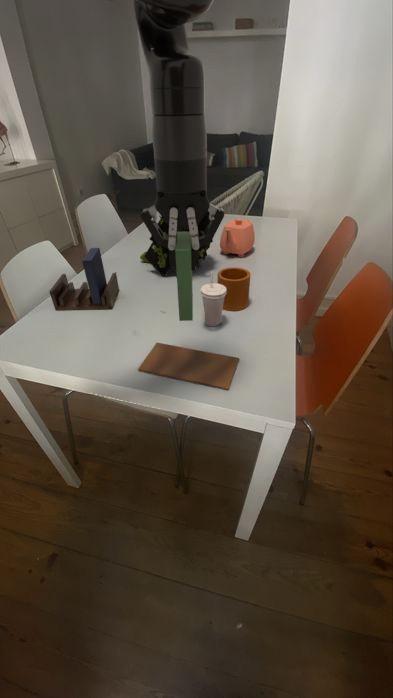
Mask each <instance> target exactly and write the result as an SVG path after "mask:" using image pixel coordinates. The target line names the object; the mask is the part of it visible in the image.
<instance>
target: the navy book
mask: <svg viewBox="0 0 393 698" xmlns="http://www.w3.org/2000/svg"><path fill="white" fill-rule="evenodd" d="M81 262H82V263H81V264H82V266H83V270H84V275H85V279H86V282H87V285H88V289H89V291H90V295H91V298H92V302H93V305H102V301H101V296H102V294H103V292H104V290H105V288H106V286H107V284H108V282H107V277H106V273H105V268H104V264H103V263H104V262H103V258H102V252H101V249H100V247H90V248H89V250H88V251H87V252H86V254H85V256H84V257H83V258H82V260H81Z"/></svg>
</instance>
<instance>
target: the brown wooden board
mask: <svg viewBox="0 0 393 698" xmlns="http://www.w3.org/2000/svg"><path fill="white" fill-rule="evenodd" d="M239 361H240V357H237V356H232V355H226V354H222V353H221V354H220V353H215V352H210V351H204V350H200V349H194V348H189V347H183V346H179V345H173V344H168V343H161V342H155V344H154V345H153V347H152V348H151V349H150V351H149V352H148V354H147V355H146V357H145V358H144V359H143V361H142V362H141V364H140V365H139V367H138V368H137V371H138V372H140V373H141V372H142V373H145V374H150V375H154V376H160V377H164V378H170V379H173V380H179V381H183V382H188V383H191V384H192V383H193V384H197V385H201V386H206V387H210V388H215V389H221V390H224V391H229V390H230V387H231V386H232V385H231V384H232V381H233V378H234V376H235V373H236V369H237V367H238V364H239Z"/></svg>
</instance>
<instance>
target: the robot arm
mask: <svg viewBox="0 0 393 698" xmlns="http://www.w3.org/2000/svg"><path fill="white" fill-rule="evenodd" d="M109 1H114V0H107V2H109ZM213 3H214V0H132V6H133V7H132V8H133V12H134V13H133V14H134V17H135V23H136V27H137V31H138V35H139V39H140V44H141V46H142V52H143V56H144V59H145V62H146V65H147V66H146V67H147V69H148V73H149V89H150V101H151V114H152V133H151V135H152V148H153V162H154V172H155V185H156V198H155V201H154V204H153V205H151V206H150V207H148V208H147V207H144V208H143V209H142V211H141V213H140V218H141V220H142V222H143V224H144V225H145V227H146V228H147V230H148V232H149V233H150V236H151V235H152V237H153V238H154V240H155V242H156V243H157V245H158V246H159V247H162V246H163V247H166V248H167V249H168V250H169V261H170V266H171V268H170V269H172V268H173V271H174V272H177V271H176V254H175V249H176V237H177V229H180V228H187V229H189V230H190V236H191V242H192V246H191V267H192V272H194V271H196V268H199V266H200V260H199V249H200V248H201V247H203V246H209V245H210V246H211V244H212V242H211V241H212V239H213V240H214V237H215V235H216V233H217V231H218V229H219V228H220V225H221V223H222V221H223V220H224V217H225V210H224V209H223V207H221V206H216V205H214V204H213V203H212V204H211V202H210V198H209V196H208V193H207V190H208V189H207V188H208V187H207V186H208V185H207V183H208V179H207V178H208V176H207V175H208V174H207V172H208V171H207V168H208V167H207V165H208V164H207V163H208V162H207V158H208V144H207V143H208V141H207V140H208V137H207V135H208V134H207V125H206V124H207V123H206V75H205V67H204V63H203V61H202V60H201V58H200V57H198V56H197V55H195V54H193V53H191V52H190V48H189V42H188V35H187V27H186V24H189V23H192V22H195V21H197V20H199V19H201V18H202V17H203V16H204V15H205V14H206V13H207V12H208V11H209V9H210V8H211V7H212V5H213ZM207 210H208V211H209V219H210V220H211V221H210V223H209V225H208V227H207V229H206V231H205V233H204V235H203V236H201V237H199V235H198V227H197V225H198V223H199V222H200V221H201V219H202V218H203V216H204V215H205V213H206V212H207ZM157 213H158V214H159V216H161V217H162V218H163V219H164V220H165V221H166V223H167V224H168V225H169V238H167V237H165V236H164V234H163V233H162V231H161V229H160V227H159V226H158V224H157V223H158V222H157V220H158V215H157Z"/></svg>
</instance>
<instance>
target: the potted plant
mask: <svg viewBox="0 0 393 698" xmlns="http://www.w3.org/2000/svg"><path fill="white" fill-rule="evenodd" d="M213 203H214V201H212V202H210V204H212V205H213ZM158 217H159V218H160V219H159V220H158V222H157V224H158V226H159V227H160V229H161V231H162V233H163V234H164V236H165V237H167V238H169V225H168V224H167V223H166V221H165V220H164V219H163V218H162V216H161V215H158ZM210 221H211V220H210V219H209V211H208V210H207V212H206V213H205V215H204V216H203V218H202V219H201V221H200V222H199V223H198V225H197V227H198V235H199V237H201V236H203V235H204V233H205V231H206V229H207V227H208V225H209V223H210ZM177 232H190V230H189V229H187V228H180V229H177ZM149 240H150V241H151V244H150V245H149V248H148V249H147V251H144V252H143V253H142V254H140V256H139V258H140V260H141V261H143V262H145V263H148V264H150V265H151V266H152V267H153V268H154V269H155V270H156V271H157V272H159V274H160V275H161V276H163V277H164V278H166V276H167V275H168V273H169V271H170V270H171V269H172V268H171V266H170V261H169V250H168V249H167V248H166V247H163V246H162V247H159V246H158V245H157V243H156V242H155V240H154V238H153V237H152V235H151V234H150V237H149ZM176 241H177V237H176ZM213 241H214V238H213V239H212V241H211V243H214V242H213ZM191 246H192V242H191ZM210 247H211V244H210V245H209V246H203V247H201V248H200V249H199V261H200V264H201V265H203V264H202V261H204V262H205V261H206V257H207V256H208V252H207V251H208V250H209V249H210Z"/></svg>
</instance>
